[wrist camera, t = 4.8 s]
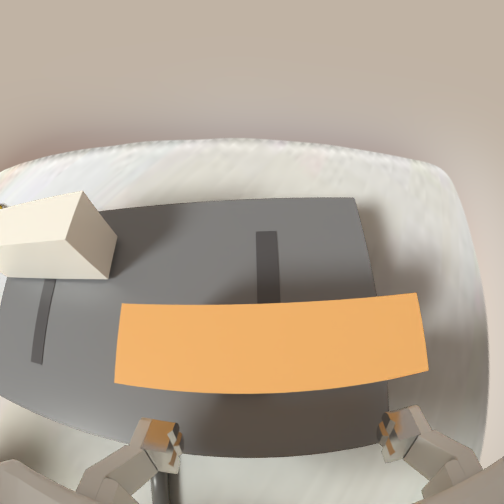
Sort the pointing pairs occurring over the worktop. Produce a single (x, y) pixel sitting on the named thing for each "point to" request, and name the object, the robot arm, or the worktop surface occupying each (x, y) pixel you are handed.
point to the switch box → (194, 293)
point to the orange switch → (270, 345)
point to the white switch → (56, 239)
